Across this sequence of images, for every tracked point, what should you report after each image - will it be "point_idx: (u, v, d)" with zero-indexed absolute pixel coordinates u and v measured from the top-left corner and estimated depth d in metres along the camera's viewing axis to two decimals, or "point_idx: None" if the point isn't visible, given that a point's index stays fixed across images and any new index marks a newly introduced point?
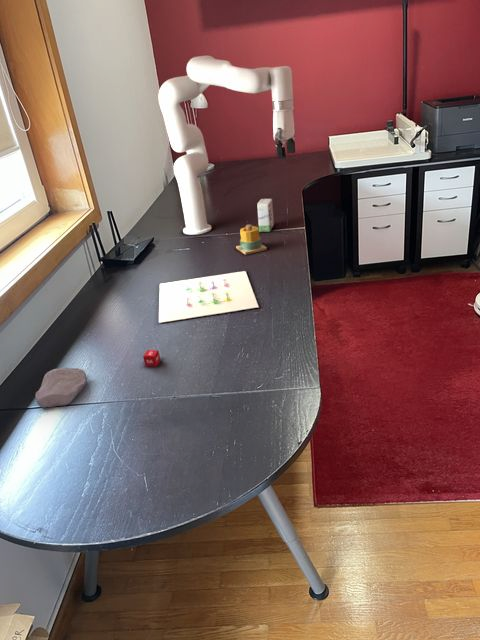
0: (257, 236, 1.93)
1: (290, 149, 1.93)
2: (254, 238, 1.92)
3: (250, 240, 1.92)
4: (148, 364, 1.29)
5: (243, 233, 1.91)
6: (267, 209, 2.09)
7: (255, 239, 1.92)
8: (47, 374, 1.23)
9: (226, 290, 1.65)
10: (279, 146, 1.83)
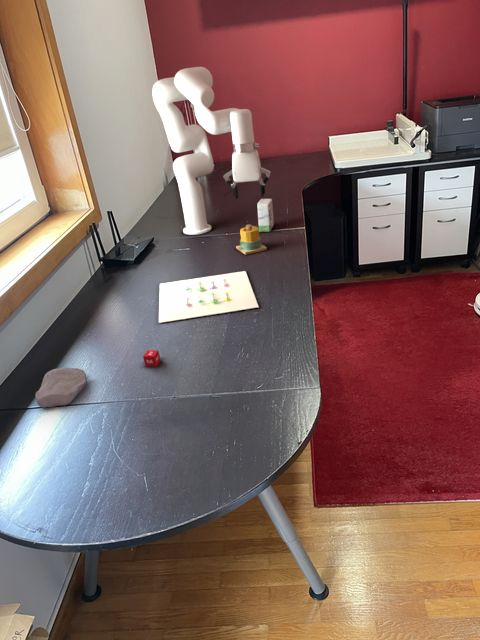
0: (257, 236, 1.93)
1: None
2: (254, 238, 1.92)
3: (250, 240, 1.92)
4: (148, 364, 1.29)
5: (243, 233, 1.91)
6: (267, 209, 2.09)
7: (255, 239, 1.92)
8: (47, 374, 1.23)
9: (226, 290, 1.65)
10: None
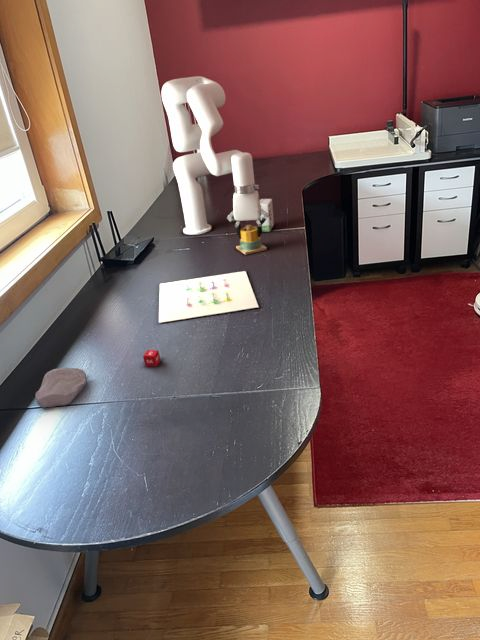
0: (257, 236, 1.93)
1: None
2: (254, 238, 1.92)
3: (250, 240, 1.92)
4: (148, 364, 1.29)
5: (243, 233, 1.91)
6: (267, 209, 2.09)
7: (255, 239, 1.92)
8: (47, 374, 1.23)
9: (226, 290, 1.65)
10: None
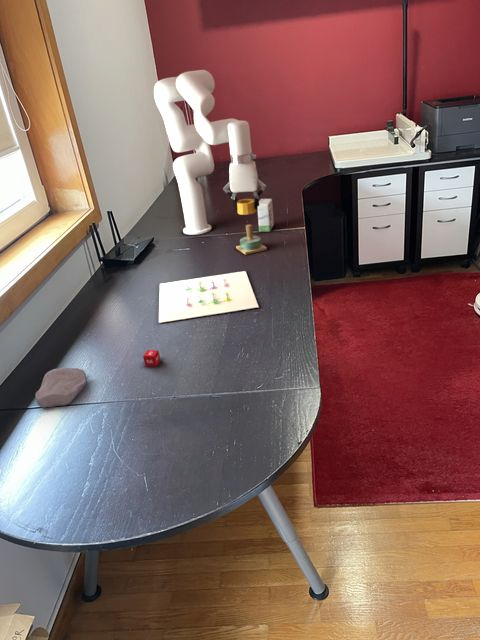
0: (254, 208, 1.88)
1: None
2: (251, 210, 1.87)
3: (246, 212, 1.87)
4: (148, 364, 1.29)
5: (239, 205, 1.86)
6: (267, 209, 2.09)
7: (252, 212, 1.87)
8: (47, 374, 1.23)
9: (226, 290, 1.65)
10: None
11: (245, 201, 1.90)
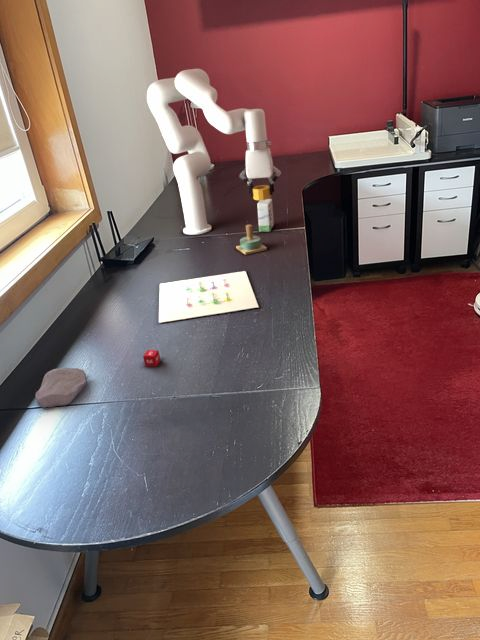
0: (269, 194, 1.95)
1: None
2: (266, 196, 1.94)
3: (262, 197, 1.94)
4: (148, 364, 1.29)
5: (255, 191, 1.93)
6: (267, 209, 2.09)
7: (267, 197, 1.94)
8: (47, 374, 1.23)
9: (226, 290, 1.65)
10: None
11: (260, 187, 1.97)
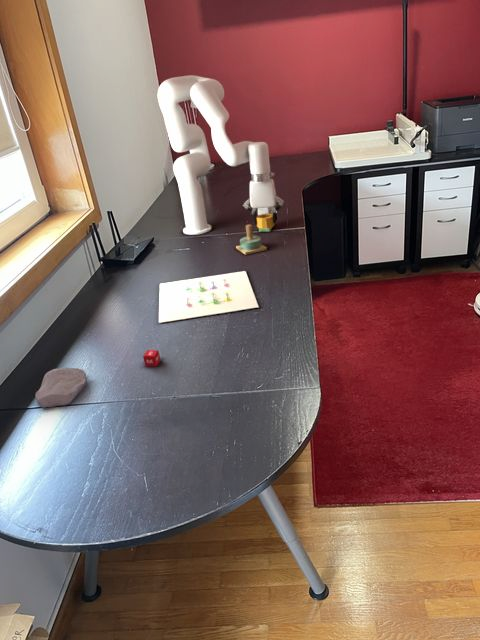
0: (272, 223, 2.01)
1: None
2: (270, 224, 2.00)
3: (265, 226, 2.00)
4: (148, 364, 1.29)
5: (259, 220, 1.99)
6: (267, 209, 2.09)
7: (270, 225, 2.00)
8: (47, 374, 1.23)
9: (226, 290, 1.65)
10: None
11: (264, 216, 2.03)
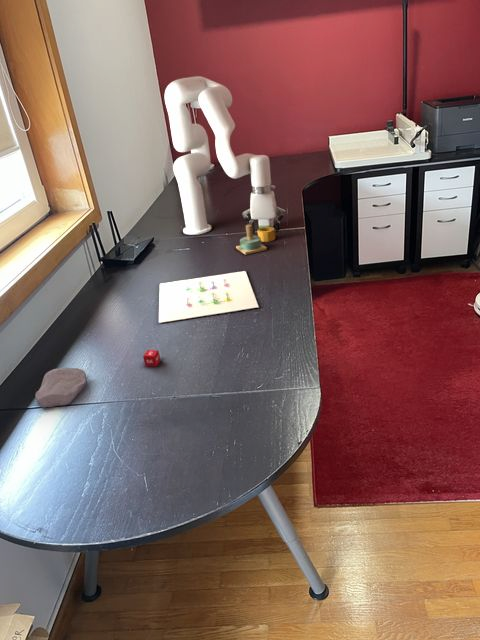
0: (273, 236, 2.03)
1: (276, 228, 2.03)
2: (270, 238, 2.03)
3: (266, 239, 2.02)
4: (148, 364, 1.29)
5: (260, 233, 2.02)
6: None
7: (271, 239, 2.03)
8: (47, 374, 1.23)
9: (226, 290, 1.65)
10: None
11: (265, 229, 2.06)
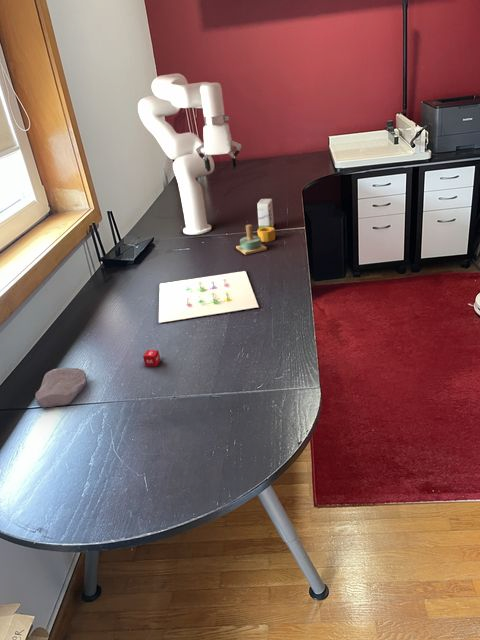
0: (273, 236, 2.03)
1: None
2: (270, 238, 2.03)
3: (266, 239, 2.02)
4: (148, 364, 1.29)
5: (260, 233, 2.02)
6: (267, 209, 2.09)
7: (271, 239, 2.03)
8: (47, 374, 1.23)
9: (226, 290, 1.65)
10: None
11: (265, 229, 2.06)
